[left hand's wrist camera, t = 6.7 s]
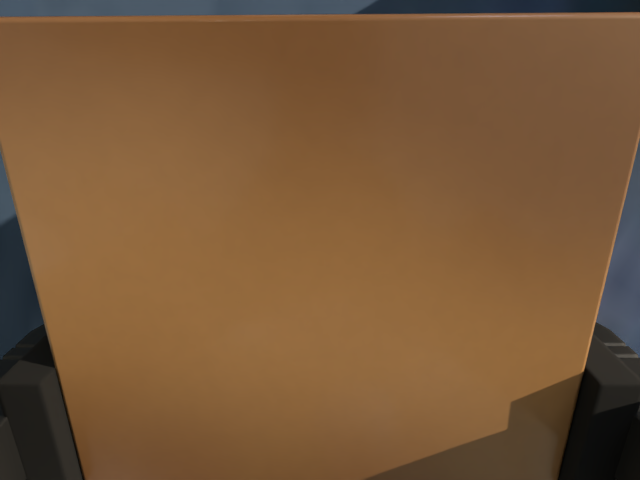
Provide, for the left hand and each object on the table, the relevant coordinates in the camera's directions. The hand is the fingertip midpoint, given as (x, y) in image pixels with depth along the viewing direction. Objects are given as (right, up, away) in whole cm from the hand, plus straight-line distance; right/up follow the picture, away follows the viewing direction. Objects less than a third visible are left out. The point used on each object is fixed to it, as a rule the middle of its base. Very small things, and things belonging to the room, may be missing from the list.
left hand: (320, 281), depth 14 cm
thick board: (0, -20, +8) cm, 21 cm away
